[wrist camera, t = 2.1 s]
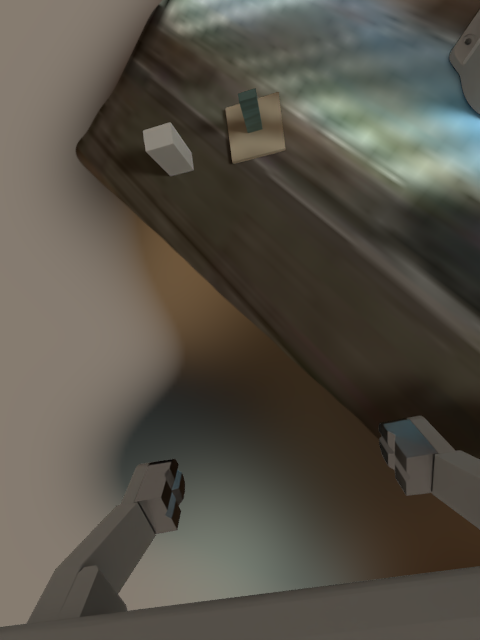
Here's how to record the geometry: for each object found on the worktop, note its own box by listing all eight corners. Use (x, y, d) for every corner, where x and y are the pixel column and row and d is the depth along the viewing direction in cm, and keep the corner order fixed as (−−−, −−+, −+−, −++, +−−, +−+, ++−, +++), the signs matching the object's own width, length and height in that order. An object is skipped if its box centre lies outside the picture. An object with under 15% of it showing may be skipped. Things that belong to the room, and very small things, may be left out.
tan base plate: (285, 150, 43) (283, 118, 35) (233, 163, 45) (220, 136, 37) (278, 94, 42) (275, 50, 35) (226, 110, 44) (212, 72, 37)
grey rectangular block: (193, 170, 46) (173, 143, 38) (170, 176, 47) (145, 151, 39) (191, 152, 46) (170, 122, 38) (168, 159, 47) (142, 130, 39)
